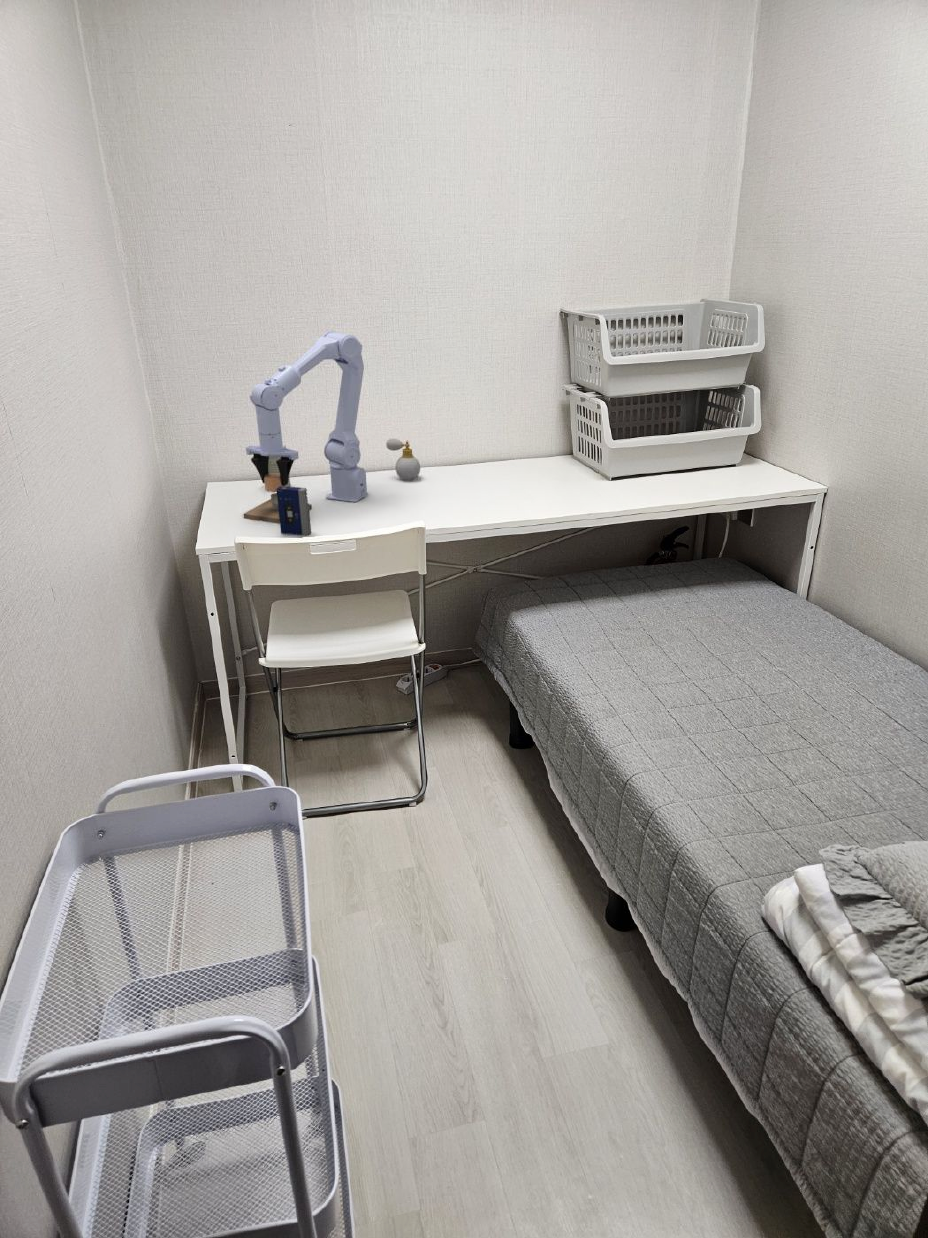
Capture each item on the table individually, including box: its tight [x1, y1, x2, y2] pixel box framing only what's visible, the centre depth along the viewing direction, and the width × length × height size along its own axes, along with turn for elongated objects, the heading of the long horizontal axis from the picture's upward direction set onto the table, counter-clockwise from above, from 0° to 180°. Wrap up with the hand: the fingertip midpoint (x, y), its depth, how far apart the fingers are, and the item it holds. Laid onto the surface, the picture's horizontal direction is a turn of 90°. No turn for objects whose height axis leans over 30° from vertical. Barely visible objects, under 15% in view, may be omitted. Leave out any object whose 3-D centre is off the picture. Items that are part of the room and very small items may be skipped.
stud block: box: [243, 492, 313, 524], centre depth 221 cm, size 13×13×5 cm
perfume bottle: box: [385, 438, 421, 481], centre depth 247 cm, size 8×10×12 cm
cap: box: [263, 473, 286, 493], centre depth 218 cm, size 5×5×4 cm
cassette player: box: [276, 486, 312, 536], centre depth 206 cm, size 7×2×12 cm, turn 78°
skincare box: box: [268, 445, 291, 487], centre depth 239 cm, size 6×4×12 cm
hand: (275, 483), depth 218 cm, fingers closed on cap, 5 cm apart
